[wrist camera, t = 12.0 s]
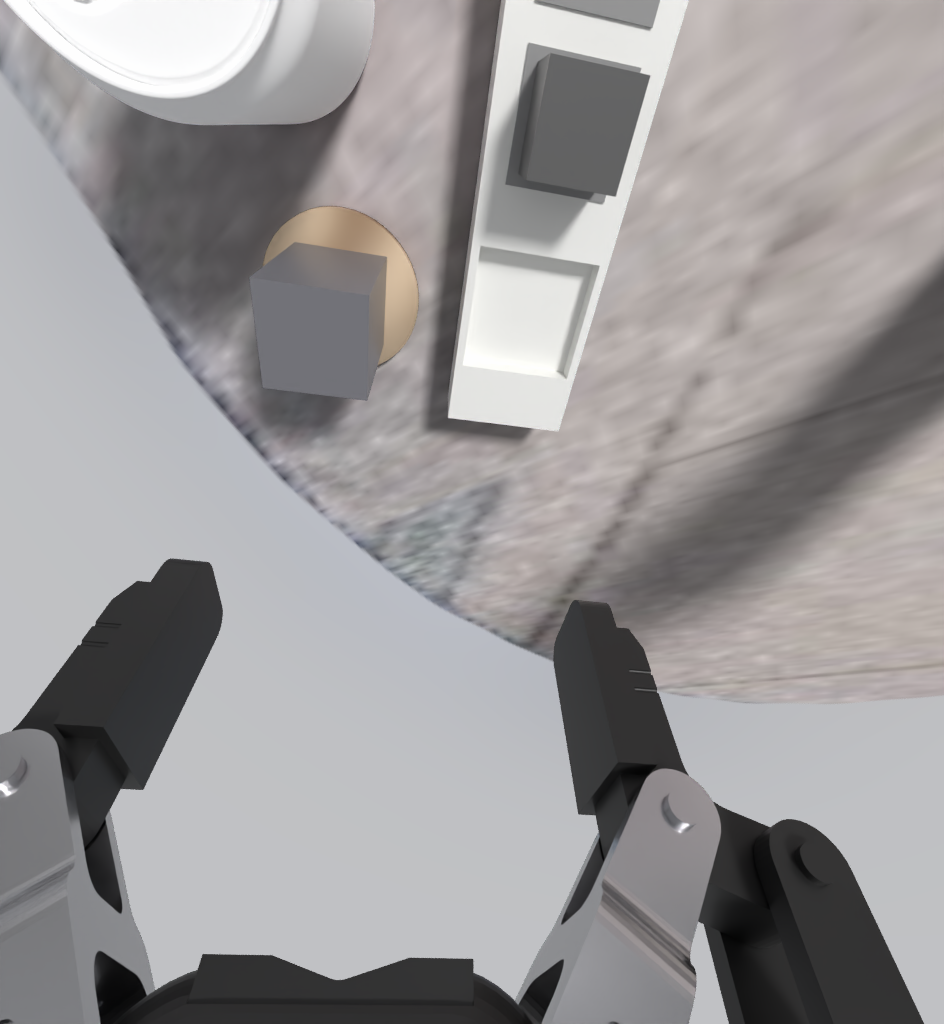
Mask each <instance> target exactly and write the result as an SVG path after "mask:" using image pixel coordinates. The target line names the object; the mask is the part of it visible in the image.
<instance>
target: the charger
mask: <svg viewBox="0 0 944 1024" xmlns="http://www.w3.org/2000/svg"><path fill="white" fill-rule="evenodd" d="M386 273H387V257H386V256H380V255H373V254H367V253H361V252H355V251H348V250H342V249H336V248H329V247H323V246H317V245H311V244H304V243H298V242H294V243H293V244H291V245H290V246H289V247H288V248H286V249H285V250H284V251H282V252H281V253H280V254H279V255H277V256H276V257H275V258H273V259H272V260H271V261H270V262H268V263H267V264H266V265H264V266H263V267H262V268H261V269H259V270H258V271H257V272H255V273H254V274H253V275H251V276H250V277H249V281H250V289H251V297H252V306H253V314H254V322H255V330H256V338H257V346H258V354H259V363H260V371H261V379H262V387H263V388H267V389H276V390H284V391H292V392H300V393H308V394H316V395H325V396H333V397H341V398H349V399H357V400H366V401H367V400H368V396H369V393H370V390H371V386H372V383H373V379H374V376H375V372H376V369H377V366H378V362H379V359H380V355H381V352H382V349H383V345H384V322H385V298H386Z"/></svg>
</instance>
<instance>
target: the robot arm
mask: <svg viewBox="0 0 944 1024" xmlns="http://www.w3.org/2000/svg"><path fill="white" fill-rule="evenodd" d="M222 615H223V610H222V604H221V600H220V596H219V592H218V588H217V585H216V580H215V576H214V572H213V568H212V566H211V564H210V563H209V562H201V561H191V560H181V559H168V560H167V561H166V562H164V564H163V565H162V566H161V568H160V569H159V571H158V572H157V573H156V575H155V576H154V578H153V579H152V581H151V582H142V581H137V582H135V583H134V584H133V585H131V586H130V587H129V588H127V589H126V590H124V591H123V592H122V593H120V594H119V595H118V596H116V597H115V598H113V599H112V600H111V602H110V603H109V605H108V606H107V607H106V609H105V610H104V611H103V613H102V614H101V615H100V617H99V618H98V619H97V621H96V625H95V626H93V627H91V629H90V630H89V631H88V633H87V634H86V636H85V637H84V638H83V640H82V644H81V645H78V646H77V648H76V649H75V650H74V652H73V653H72V654H71V656H70V657H69V658H68V660H67V661H66V663H65V664H64V665H63V666H62V668H61V669H60V670H59V672H58V673H57V674H56V676H55V677H54V678H53V680H52V681H51V683H50V684H49V685H48V687H47V688H46V689H45V691H44V692H43V693H42V695H41V696H40V697H39V699H38V700H37V702H36V703H35V704H34V706H33V707H32V708H31V709H30V711H29V712H28V714H27V715H26V716H25V717H24V719H23V720H22V721H21V722H20V723H19V724H18V726H16V727H15V728H14V729H13V730H12V731H11V732H7V733H4V734H1V735H0V1024H688V1023H689V1020H690V1015H691V1011H692V1007H693V1002H694V998H695V992H696V972H695V969H694V967H693V966H692V964H691V962H690V951H691V946H692V942H693V938H694V934H695V931H696V927H697V923H698V922H700V923H703V924H704V927H705V931H706V935H707V938H708V943H709V946H710V951H711V954H712V958H713V962H714V966H715V970H716V974H717V978H718V982H719V986H720V990H721V994H722V998H723V1002H724V1006H725V1009H726V1013H727V1017H728V1021H729V1024H924V1023H923V1021H922V1018H921V1016H920V1014H919V1012H918V1010H917V1008H916V1006H915V1004H914V1002H913V999H912V997H911V995H910V993H909V991H908V989H907V987H906V985H905V982H904V980H903V978H902V976H901V974H900V972H899V970H898V968H897V965H896V963H895V961H894V959H893V957H892V955H891V953H890V951H889V949H888V946H887V944H886V942H885V940H884V938H883V936H882V934H881V932H880V929H879V927H878V925H877V923H876V921H875V919H874V917H873V915H872V913H871V911H870V908H869V906H868V904H867V902H866V900H865V898H864V896H863V894H862V891H861V889H860V887H859V885H858V883H857V881H856V879H855V877H854V875H853V872H852V870H851V868H850V867H849V865H848V863H847V861H846V860H845V858H844V857H843V855H842V854H841V852H840V851H839V850H838V849H837V847H836V846H835V845H834V844H833V843H832V842H831V841H830V840H829V839H828V838H827V837H826V836H825V835H823V834H822V833H821V832H820V831H818V830H817V829H815V828H814V827H812V826H810V825H808V824H807V823H804V822H801V821H798V820H792V819H786V820H782V821H780V822H778V823H776V824H775V825H773V826H772V827H768V826H765V825H763V824H761V823H758V822H756V821H754V820H751V819H749V818H746V817H744V816H742V815H739V814H737V813H734V812H732V811H730V810H727V809H725V808H723V807H721V806H719V805H718V804H716V803H715V802H713V801H712V799H711V798H710V796H709V795H708V794H707V792H706V791H705V790H704V788H703V787H702V786H701V785H699V784H698V782H696V781H695V780H694V779H692V778H691V777H689V775H688V774H687V772H686V770H685V768H684V766H683V763H682V761H681V758H680V755H679V752H678V749H677V746H676V743H675V740H674V737H673V735H672V731H671V729H670V725H669V723H668V720H667V717H666V714H665V711H664V708H663V705H662V702H661V699H660V696H659V694H658V693H657V687H656V684H655V681H654V678H653V675H651V673H650V672H651V669H650V667H649V664H648V661H647V658H646V655H645V652H644V649H643V647H642V646H641V645H640V644H639V642H638V641H637V640H636V638H635V637H634V636H633V634H632V633H631V632H630V630H629V629H626V628H616V624H615V621H614V618H613V614H612V611H611V608H610V606H609V605H608V604H607V603H599V602H589V601H579V600H574V601H573V602H572V604H571V606H570V608H569V610H568V613H567V615H566V617H565V620H564V622H563V624H562V627H561V629H560V631H559V634H558V636H557V638H556V641H555V646H554V668H555V674H556V680H557V687H558V692H559V698H560V704H561V711H562V717H563V723H564V729H565V735H566V741H567V748H568V753H569V760H570V766H571V772H572V777H573V784H574V790H575V796H576V802H577V809H578V814H582V815H596V819H597V825H598V830H599V833H598V834H597V836H596V838H595V840H594V842H593V844H592V846H591V849H590V851H589V853H588V855H587V857H586V859H585V861H584V864H583V866H582V868H581V870H580V872H579V875H578V876H577V879H576V881H575V883H574V885H573V888H572V890H571V892H570V894H569V896H568V898H567V900H566V902H565V904H564V907H563V909H562V911H561V913H560V915H559V917H558V919H557V921H556V924H555V925H554V927H553V929H552V931H551V933H550V934H549V936H548V937H547V939H546V940H545V942H544V944H543V945H542V947H541V949H540V951H539V952H538V954H537V956H536V958H535V960H534V962H533V964H532V966H531V968H530V970H529V972H528V974H527V976H526V978H525V980H524V983H523V985H522V987H521V989H520V991H519V993H518V995H517V997H516V1000H515V1001H514V1000H513V999H512V998H511V997H510V996H509V995H508V994H507V993H505V992H504V991H503V990H502V989H501V988H499V987H498V986H497V985H495V984H494V983H492V982H490V981H489V980H487V979H485V978H484V977H482V976H479V975H477V974H475V973H473V959H446V958H408V959H405V960H402V961H399V962H396V963H393V964H390V965H387V966H384V967H381V968H378V969H375V970H372V971H369V972H366V973H363V974H360V975H357V976H354V977H351V978H348V979H345V980H333V979H330V978H328V977H325V976H323V975H320V974H317V973H315V972H312V971H310V970H307V969H305V968H302V967H300V966H297V965H295V964H292V963H290V962H287V961H285V960H282V959H280V958H277V957H275V956H272V955H218V954H217V955H215V954H203V955H202V958H201V962H200V965H199V968H198V970H196V971H193V972H190V973H187V974H185V975H183V976H181V977H179V978H177V979H175V980H173V981H170V982H168V983H167V984H165V985H163V986H162V987H160V988H158V989H157V990H155V987H154V983H153V978H152V973H151V969H150V965H149V960H148V956H147V953H146V949H145V946H144V943H143V940H142V937H141V935H140V932H139V930H138V928H137V926H136V924H135V922H134V919H133V916H132V912H131V908H130V904H129V899H128V894H127V890H126V885H125V880H124V876H123V870H122V865H121V861H120V856H119V851H118V846H117V841H116V837H115V832H114V827H113V822H112V817H111V813H110V808H111V806H112V804H113V802H114V801H115V799H116V797H117V795H118V793H119V791H120V789H136V790H143V789H144V787H145V785H146V783H147V780H148V779H149V777H150V774H151V772H152V770H153V768H154V766H155V764H156V762H157V760H158V758H159V756H160V754H161V752H162V750H163V747H164V746H165V743H166V741H167V739H168V737H169V735H170V733H171V731H172V729H173V727H174V725H175V723H176V721H177V719H178V717H179V715H180V712H181V710H182V708H183V706H184V704H185V702H186V700H187V698H188V696H189V694H190V692H191V690H192V687H193V686H194V683H195V681H196V680H197V677H198V675H199V673H200V671H201V669H202V667H203V665H204V663H205V661H206V659H207V657H208V655H209V653H210V650H211V648H212V646H213V644H214V642H215V640H216V638H217V636H218V634H219V631H220V627H221V623H222Z"/></svg>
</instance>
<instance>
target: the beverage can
mask: <svg viewBox="0 0 944 1024" xmlns="http://www.w3.org/2000/svg"><path fill="white" fill-rule="evenodd" d="M3 1H4V2H5V3H6V4H7V5H8V6H9V7H10V8H11V10H12V11H13V12H14V13H15V14H16V15H17V16H18V17H19V18H20V19H21V20H22V21H23V22H24V23H25V24H26V25H27V26H28V27H29V28H30V29H31V30H32V31H33V32H34V33H35V34H36V35H37V36H38V37H40V38H41V39H42V40H43V41H44V42H45V43H46V44H48V45H49V46H50V47H51V48H52V49H53V50H54V51H55V52H56V53H57V54H58V55H59V56H60V57H61V58H62V59H64V60H65V61H66V62H67V63H68V64H69V65H70V66H71V67H73V68H74V69H75V70H76V71H77V72H79V73H80V74H81V75H82V76H84V77H85V78H86V79H88V80H89V81H90V82H92V83H93V84H94V85H96V86H97V87H99V88H100V89H102V90H103V91H105V92H106V93H108V94H109V95H111V96H113V97H114V98H116V99H118V100H119V101H121V102H123V103H125V104H127V105H129V106H131V107H133V108H135V109H137V110H139V111H142V112H144V113H147V114H149V115H152V116H155V117H158V118H161V119H164V120H168V121H172V122H177V123H182V124H190V125H269V124H301V123H307V122H311V121H314V120H317V119H319V118H322V117H324V116H325V115H327V114H329V113H330V112H332V111H333V110H335V109H336V108H337V107H338V106H339V105H340V104H341V103H342V102H343V101H344V100H345V99H346V98H347V97H348V96H349V94H350V93H351V92H352V90H353V89H354V87H355V86H356V84H357V82H358V80H359V78H360V76H361V74H362V72H363V70H364V67H365V64H366V62H367V58H368V55H369V51H370V47H371V42H372V36H373V29H374V16H375V0H3Z"/></svg>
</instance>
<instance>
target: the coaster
mask: <svg viewBox="0 0 944 1024" xmlns="http://www.w3.org/2000/svg"><path fill="white" fill-rule="evenodd" d="M294 242H298V243H304V244H311V245H317V246H323V247H329V248H336V249H342V250H348V251H355V252H361V253H367V254H373V255H380V256H386V257H387V273H386V298H385V322H384V345H383V349H382V352H381V355H380V359H379V362H378V365H379V364H381V363H383V362H386V361H387V360H389V359H390V358H392V357H393V356H394V355H395V354H396V353H397V352H399V351H400V349H401V348H402V347H403V346H404V345H405V343H406V342H407V340H408V338H409V337H410V335H411V333H412V330H413V328H414V325H415V321H416V318H417V311H418V302H419V294H418V284H417V280H416V276H415V272H414V269H413V267H412V264H411V262H410V260H409V258H408V256H407V254H406V252H405V250H404V249H403V247H402V246H401V244H400V243H399V242H398V241H397V239H396V238H395V237H394V236H393V235H392V234H391V233H390V232H389V231H388V230H387V229H386V228H385V227H384V226H383V225H381V224H380V223H378V222H377V221H376V220H374V219H373V218H371V217H369V216H367V215H365V214H363V213H361V212H358V211H356V210H353V209H349V208H345V207H337V206H322V207H317V208H312V209H309V210H306V211H304V212H301V213H300V214H298V215H296V216H295V217H293V218H291V219H290V220H288V221H287V222H286V223H285V224H284V225H283V226H281V228H280V229H279V230H278V231H277V232H276V234H275V235H274V237H273V238H272V240H271V242H270V243H269V246H268V248H267V251H266V253H265V258H264V262H263V266H264V265H266V264H267V263H268V262H270V261H271V260H272V259H273V258H275V257H276V256H277V255H279V254H280V253H281V252H282V251H284V250H285V249H286V248H288V247H289V246H290V245H291V244H293V243H294Z"/></svg>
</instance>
